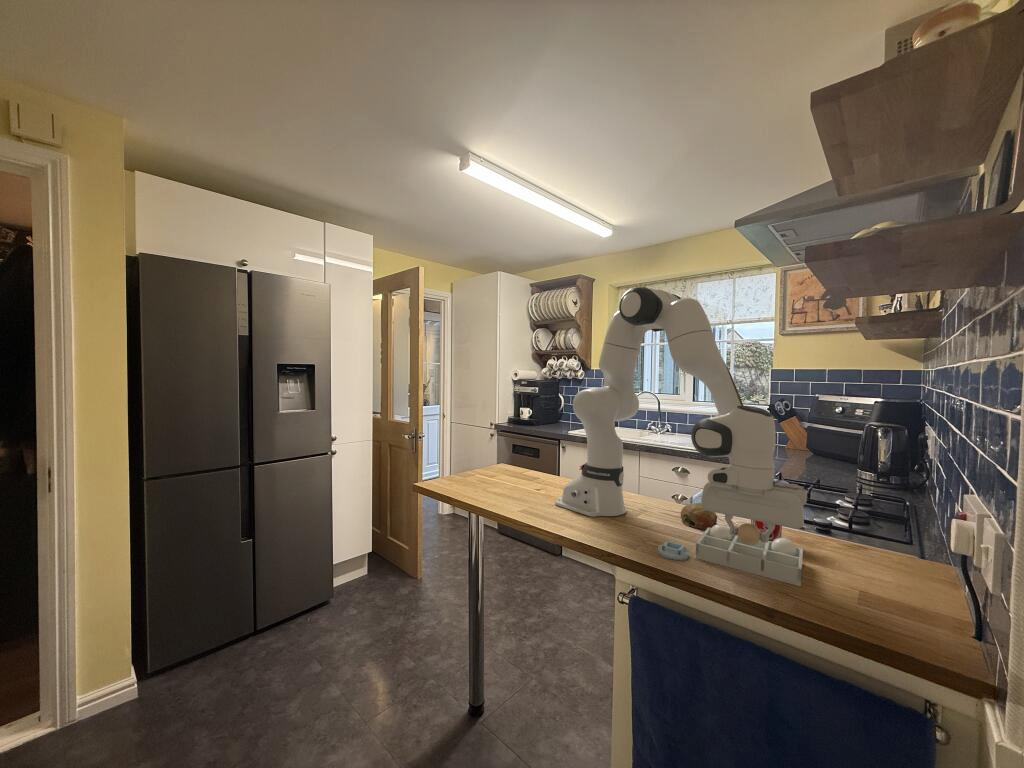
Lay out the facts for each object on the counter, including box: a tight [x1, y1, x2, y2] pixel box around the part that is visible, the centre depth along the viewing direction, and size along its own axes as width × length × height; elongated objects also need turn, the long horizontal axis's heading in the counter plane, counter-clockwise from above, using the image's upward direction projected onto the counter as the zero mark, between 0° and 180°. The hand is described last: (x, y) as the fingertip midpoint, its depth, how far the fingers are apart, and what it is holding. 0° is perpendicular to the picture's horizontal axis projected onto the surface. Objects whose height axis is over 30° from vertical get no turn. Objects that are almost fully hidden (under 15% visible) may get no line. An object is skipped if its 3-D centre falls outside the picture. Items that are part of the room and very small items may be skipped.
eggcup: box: [657, 540, 690, 561], centre depth 99 cm, size 7×7×2 cm
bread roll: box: [680, 502, 718, 530], centre depth 121 cm, size 10×10×8 cm
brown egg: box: [737, 522, 761, 546], centre depth 93 cm, size 5×5×5 cm
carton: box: [695, 527, 804, 587], centre depth 96 cm, size 20×14×4 cm
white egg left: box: [710, 523, 732, 541], centre depth 103 cm, size 5×5×5 cm
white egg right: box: [771, 537, 796, 556], centre depth 95 cm, size 5×5×5 cm
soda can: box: [750, 520, 783, 542], centre depth 109 cm, size 7×7×12 cm
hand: (748, 537), depth 93 cm, fingers closed on brown egg, 5 cm apart
